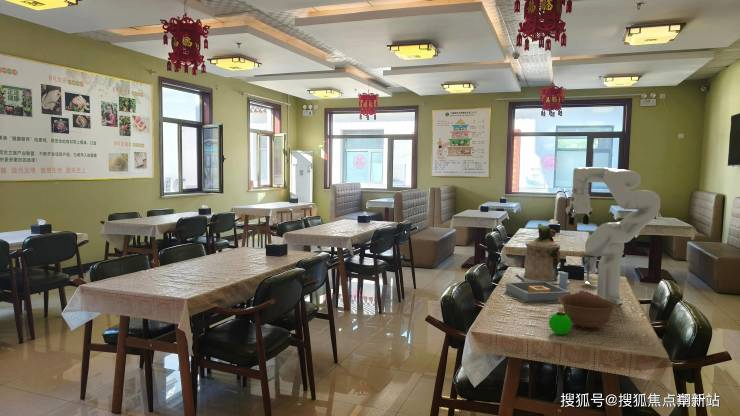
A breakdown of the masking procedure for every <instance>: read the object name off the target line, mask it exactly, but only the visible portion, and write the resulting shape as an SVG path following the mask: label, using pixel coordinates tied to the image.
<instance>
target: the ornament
mask: <svg viewBox="0 0 740 416" xmlns="http://www.w3.org/2000/svg"><path fill="white" fill-rule="evenodd" d="M548 325H549V328H550V330H551V331H552V332H553V334H557V335H559V336H563V335H567V334H568V333H569V332H570V331H571V330H572V325H573V323H572V322H571V319H570V318H569V317H568V316H567V315H566V314H565V312H564V307H563V308H562V307H559V309H558V311H557V312H556V313H553V314H552V315H551V316H550V317H549V320H548Z"/></svg>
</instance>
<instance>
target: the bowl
mask: <svg viewBox="0 0 740 416" xmlns="http://www.w3.org/2000/svg"><path fill="white" fill-rule="evenodd" d="M558 303H560V304H561V305H562V306H563V313H565V314H566V315H567V316H568V317H569V318H570V319H571V322H572V324H573V327H574V328H576V329H577V330H580V331H583V332H584V331H585V332H596V331H598V330H599V328H600V327H602V326H604V325H606V324H607V323H608V322H609V320H610V318H611V316H612V312H613V310H614V309H617V308H618V307H619V304H616V303H614V302H611V301H608V300H605V299H602V298H599V297H595V296H591V295H585V294H575V293H570V294H567V295H562V296H560V297H558Z"/></svg>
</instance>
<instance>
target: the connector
mask: <svg viewBox="0 0 740 416" xmlns="http://www.w3.org/2000/svg"><path fill="white" fill-rule="evenodd" d="M568 278H569V272H564V271H560V272H559V284H558V287H559V288H562V289H564V290H567V291H568V280H569V279H568Z"/></svg>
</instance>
